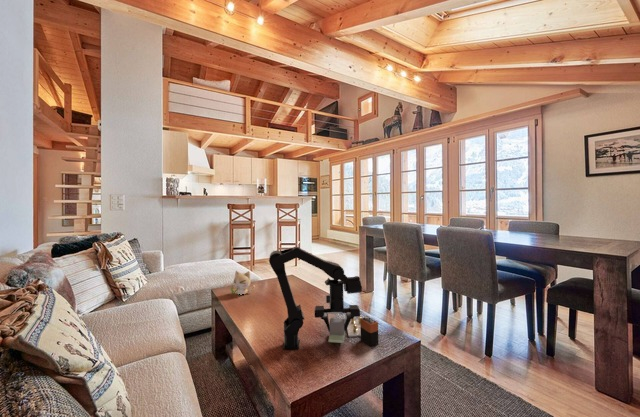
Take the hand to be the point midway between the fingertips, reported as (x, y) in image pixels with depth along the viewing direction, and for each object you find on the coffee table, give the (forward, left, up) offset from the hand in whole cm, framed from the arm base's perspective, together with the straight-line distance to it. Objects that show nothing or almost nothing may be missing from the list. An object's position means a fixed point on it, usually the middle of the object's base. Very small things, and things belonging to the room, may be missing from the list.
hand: (337, 331), depth 112 cm
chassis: (+10, -10, -4) cm, 15 cm away
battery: (-2, -13, -4) cm, 14 cm away
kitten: (+60, +58, -4) cm, 84 cm away
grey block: (0, 0, -2) cm, 2 cm away
